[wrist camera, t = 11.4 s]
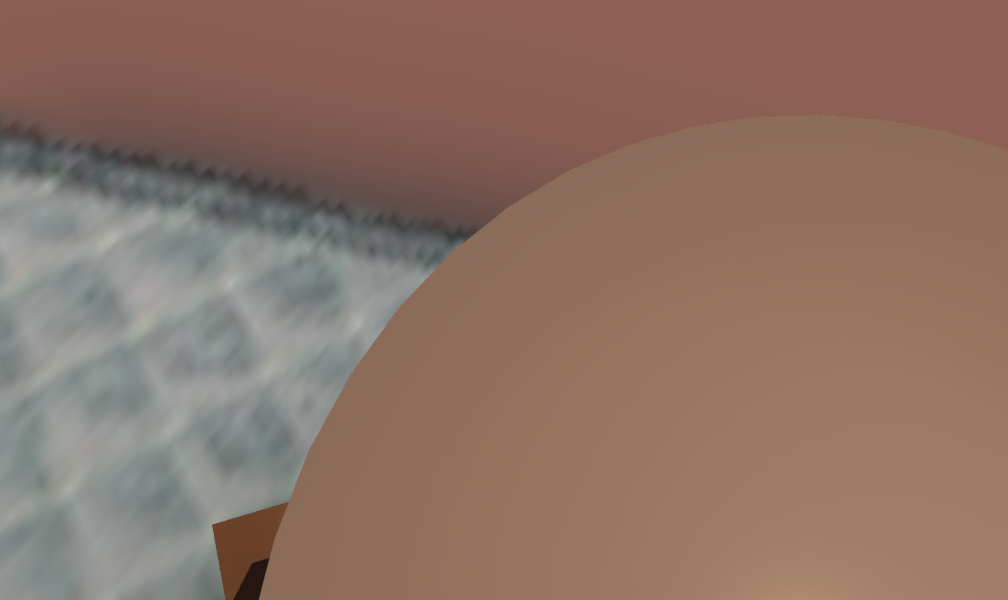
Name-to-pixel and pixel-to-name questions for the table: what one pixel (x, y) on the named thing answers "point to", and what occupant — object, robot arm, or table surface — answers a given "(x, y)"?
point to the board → (245, 544)
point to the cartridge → (688, 386)
